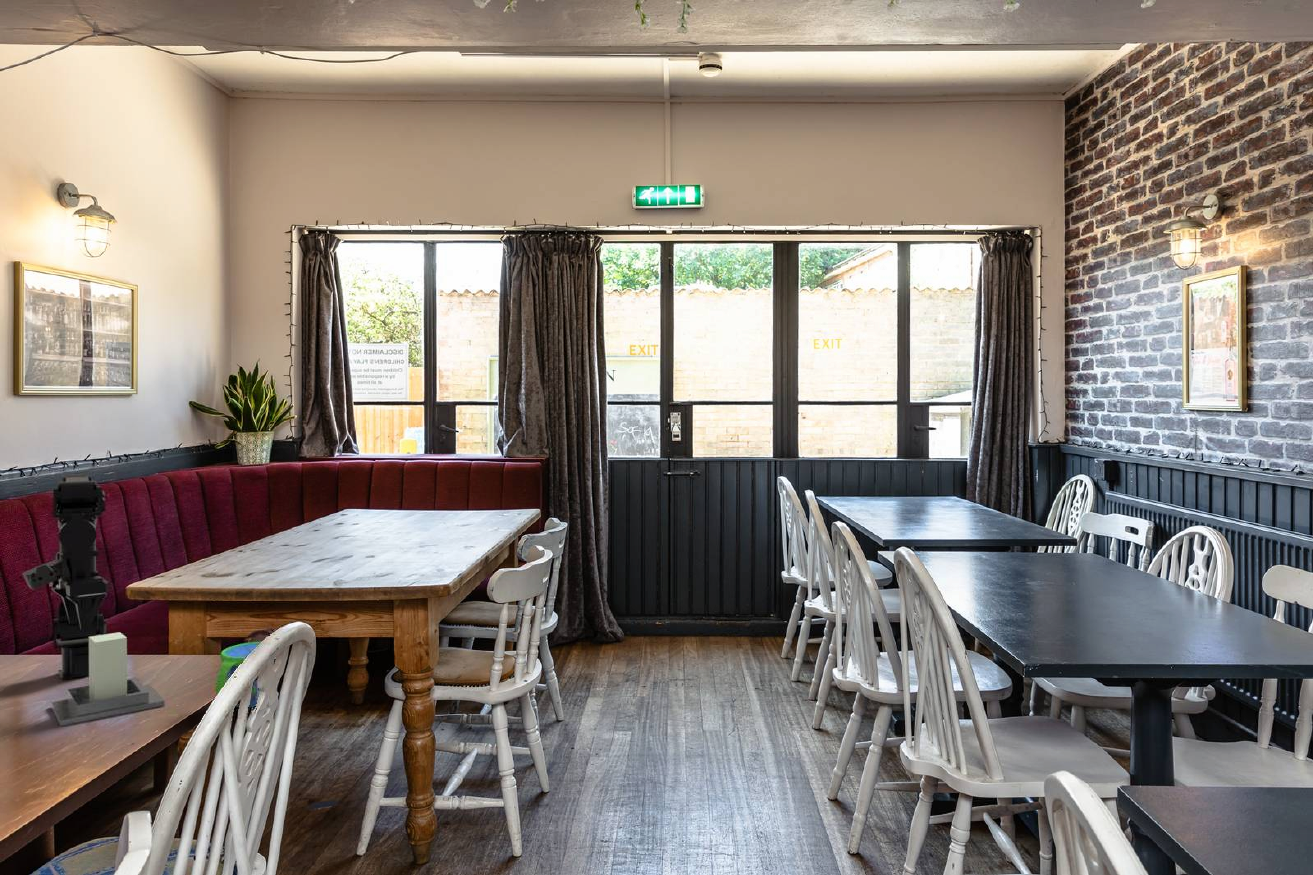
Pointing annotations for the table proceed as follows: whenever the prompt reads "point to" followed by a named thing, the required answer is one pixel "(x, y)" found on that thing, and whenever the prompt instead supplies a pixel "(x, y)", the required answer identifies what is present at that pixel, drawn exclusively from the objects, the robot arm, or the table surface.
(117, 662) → the sage block
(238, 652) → the snack cup
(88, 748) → the table surface
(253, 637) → the icecream
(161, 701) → the grey rectangular tray
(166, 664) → the table surface
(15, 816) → the table surface
